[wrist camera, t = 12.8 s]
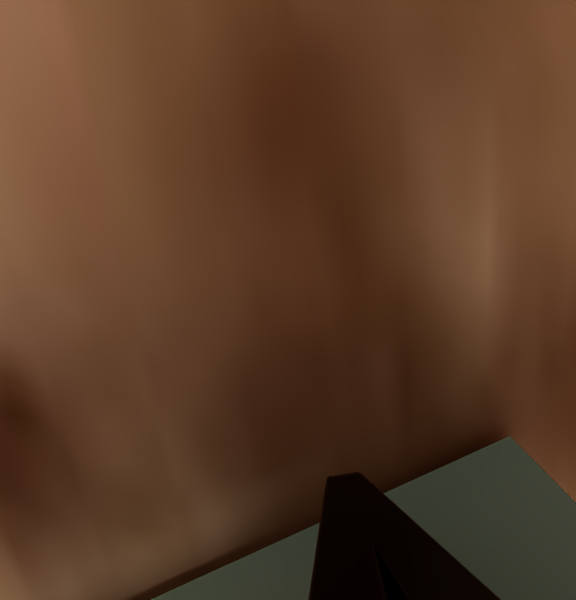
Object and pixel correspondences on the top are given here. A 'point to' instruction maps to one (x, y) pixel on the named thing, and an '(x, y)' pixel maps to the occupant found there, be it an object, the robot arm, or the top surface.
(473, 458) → the bar
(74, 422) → the top surface
